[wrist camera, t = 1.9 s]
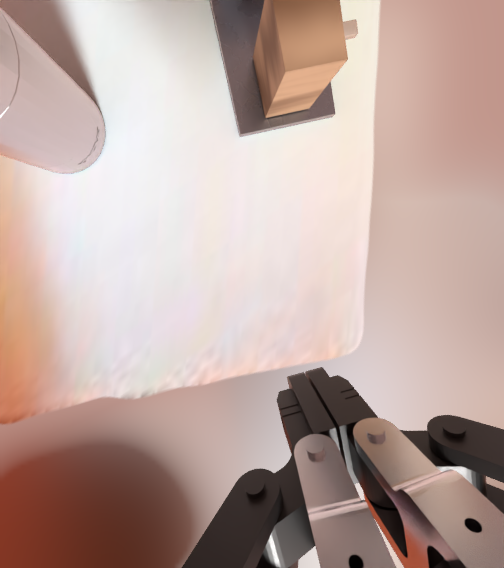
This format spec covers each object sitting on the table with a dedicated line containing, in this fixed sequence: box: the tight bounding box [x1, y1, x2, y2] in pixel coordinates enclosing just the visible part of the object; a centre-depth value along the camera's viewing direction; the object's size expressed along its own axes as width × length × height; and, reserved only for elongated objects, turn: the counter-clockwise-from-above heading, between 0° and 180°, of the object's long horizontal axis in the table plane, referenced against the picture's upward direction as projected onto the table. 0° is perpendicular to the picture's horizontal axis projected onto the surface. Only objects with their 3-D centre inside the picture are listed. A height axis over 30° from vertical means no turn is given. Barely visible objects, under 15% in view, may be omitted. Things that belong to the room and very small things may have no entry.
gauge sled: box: [253, 0, 358, 118], centre depth 27 cm, size 6×7×10 cm
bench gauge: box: [210, 0, 335, 137], centre depth 27 cm, size 17×11×11 cm, turn 12°
